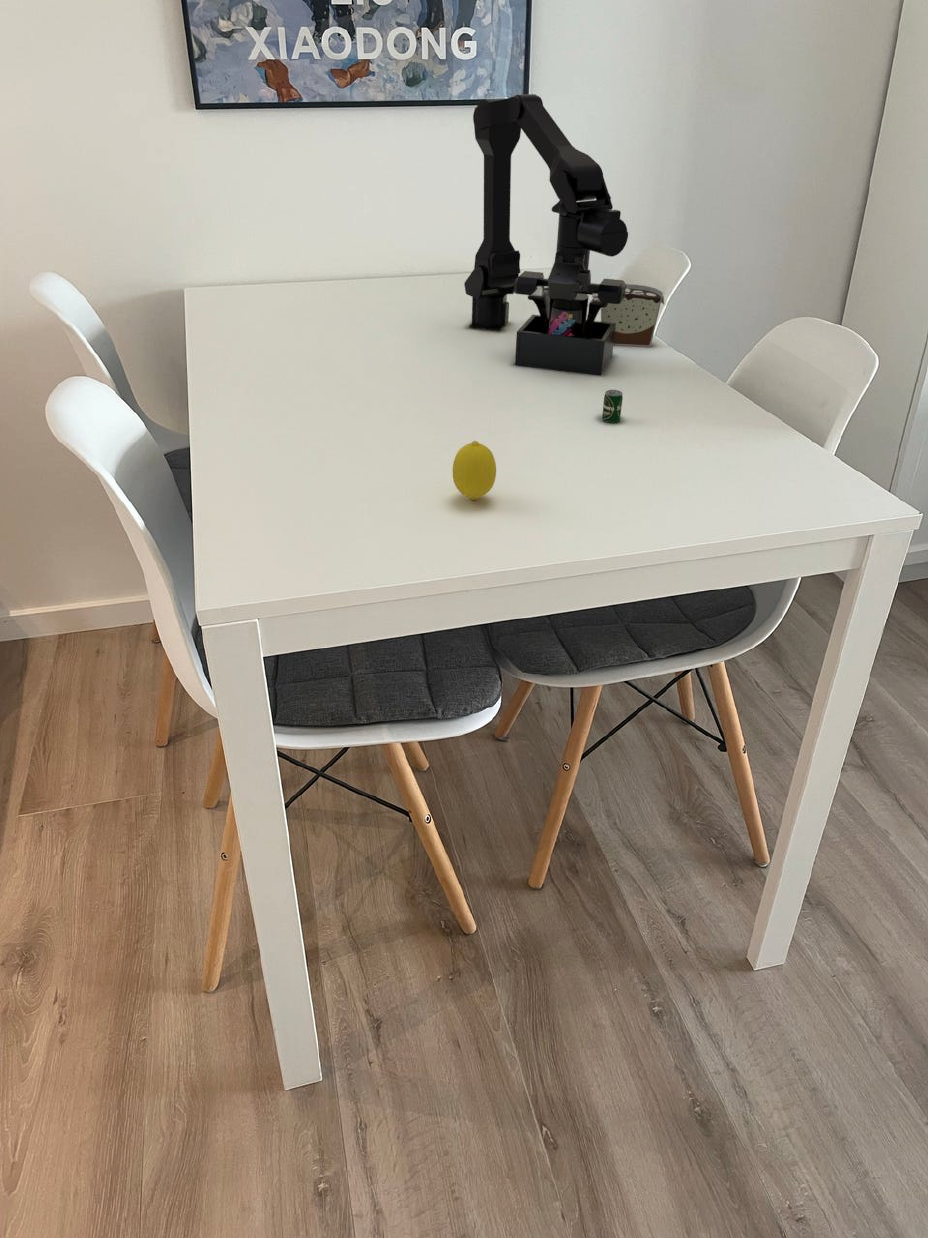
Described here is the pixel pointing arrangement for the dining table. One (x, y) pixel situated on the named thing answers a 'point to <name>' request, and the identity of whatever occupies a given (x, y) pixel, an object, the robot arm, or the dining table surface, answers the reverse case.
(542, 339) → the basin
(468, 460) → the lemon
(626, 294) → the food container
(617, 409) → the beer can
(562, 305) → the supplement container
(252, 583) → the dining table surface
